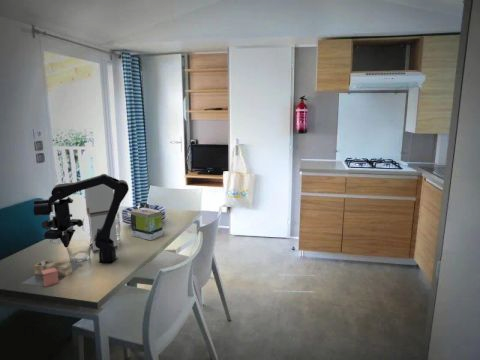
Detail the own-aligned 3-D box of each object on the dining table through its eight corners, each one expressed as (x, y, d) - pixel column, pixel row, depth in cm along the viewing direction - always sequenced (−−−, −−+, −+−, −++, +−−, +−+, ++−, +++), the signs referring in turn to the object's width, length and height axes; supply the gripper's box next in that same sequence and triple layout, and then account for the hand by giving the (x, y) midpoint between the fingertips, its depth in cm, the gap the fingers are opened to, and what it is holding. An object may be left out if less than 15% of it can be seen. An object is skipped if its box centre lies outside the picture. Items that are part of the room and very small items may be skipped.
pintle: (47, 271, 149) (46, 261, 148) (44, 272, 147) (43, 262, 146) (44, 270, 149) (42, 261, 148) (41, 272, 148) (40, 262, 147)
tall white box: (112, 242, 182) (107, 178, 176) (117, 249, 174) (112, 182, 167) (90, 247, 176) (83, 181, 169) (93, 254, 168) (87, 184, 161)
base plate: (83, 265, 155) (83, 264, 155) (51, 287, 136) (51, 286, 136) (55, 263, 158) (55, 262, 158) (21, 284, 139) (21, 283, 138)
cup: (62, 243, 181) (59, 214, 178) (49, 242, 183) (45, 214, 180) (73, 238, 189) (70, 210, 186) (60, 237, 191) (56, 209, 187)
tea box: (163, 235, 193) (162, 210, 190) (150, 241, 185) (148, 214, 182) (144, 230, 201) (143, 206, 198) (131, 235, 193) (129, 210, 190)
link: (73, 271, 149) (72, 262, 148) (65, 276, 144) (64, 268, 143) (43, 268, 151) (42, 260, 150) (34, 274, 146) (33, 265, 145)
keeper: (58, 284, 139) (57, 271, 138) (45, 288, 136) (43, 274, 135) (56, 280, 142) (54, 267, 141) (42, 283, 139) (41, 270, 138)
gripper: (60, 206, 159) (64, 238, 162) (29, 219, 141) (34, 254, 144) (81, 207, 157) (85, 239, 160) (54, 220, 139) (58, 256, 142)
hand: (66, 247), depth 152 cm, fingers closed
